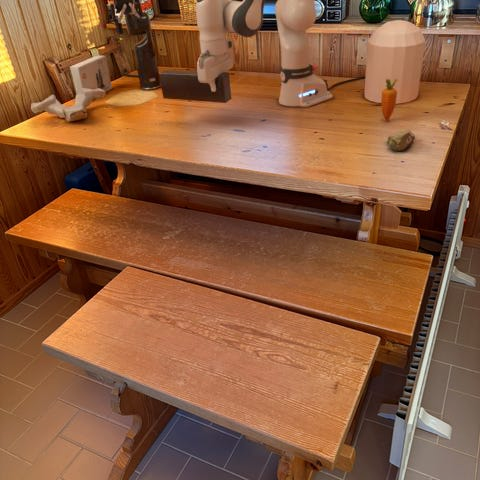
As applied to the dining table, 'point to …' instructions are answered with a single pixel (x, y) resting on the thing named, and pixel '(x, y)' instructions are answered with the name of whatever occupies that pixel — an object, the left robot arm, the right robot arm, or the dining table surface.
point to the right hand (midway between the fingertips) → (218, 88)
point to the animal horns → (72, 111)
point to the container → (394, 61)
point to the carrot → (388, 99)
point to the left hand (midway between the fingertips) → (129, 31)
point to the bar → (194, 87)
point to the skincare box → (91, 74)
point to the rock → (400, 140)
